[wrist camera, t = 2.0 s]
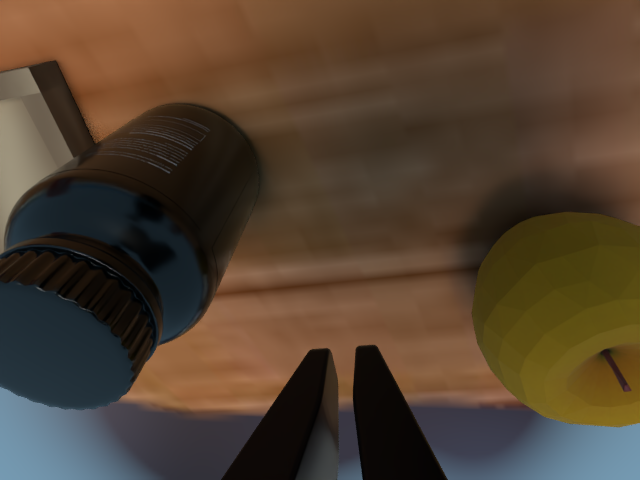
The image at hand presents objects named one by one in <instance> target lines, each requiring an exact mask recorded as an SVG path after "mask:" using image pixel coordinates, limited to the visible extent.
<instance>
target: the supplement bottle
mask: <svg viewBox="0 0 640 480" xmlns="http://www.w3.org/2000/svg"><path fill="white" fill-rule="evenodd" d="M258 191H259V172H258V167H257V163H256V160H255V157H254V155H253V153H252V150H251V148H250V147H249V145H248V143H247V142H246V141H245V139H244V138H243V136H242V135H241V134H240V133H239V132H238V131H237V130H236V129H235V128H234V127H233V126H232V125H231V124H230V123H228V122H227V121H226V120H224V119H223V118H221V117H220V116H218V115H216V114H214V113H212V112H210V111H208V110H205V109H203V108H200V107H196V106H191V105H184V104H170V105H163V106H160V107H156V108H154V109H151V110H149V111H147V112H145V113H143V114H141V115H140V116H138V117H136V118H135V119H133V120H131V121H130V122H128V123H127V124H125V125H124V126H122V127H121V128H119V129H118V130H116V131H115V132H113V133H112V134H110V135H109V136H107V137H106V138H104V139H102V140H101V141H99V142H98V143H96V144H95V145H93V146H92V147H90V148H89V149H87V150H86V151H84V152H83V153H81V154H80V155H78V156H77V157H75V158H74V159H72V160H70V161H69V162H67V163H66V164H64V165H63V166H61V167H60V168H58V169H57V170H55V171H54V172H52V173H51V174H49V175H48V176H46V177H45V178H43V179H42V180H40V181H39V182H38V183H36V184H35V185H34V186H32V187H31V188H30V189H29V190H27V191H26V192H25V193H24V194H23V195H22V196H21V197H20V198H19V200H18V201H17V202H16V204H15V205H14V207H13V209H12V210H11V212H10V215H9V217H8V220H7V223H6V227H5V233H4V252H3V253H2V254H0V387H2V388H5V389H8V390H10V391H11V392H13V393H14V394H16V395H18V396H21V397H25V398H27V399H29V400H31V401H33V402H37V403H42V404H44V405H47V406H49V407H59V408H62V409H76V410H84V409H96V408H98V407H102V406H108V405H109V404H110V403H111V402H116V401H118V400H119V399H120V398H121V397H122V396H123V395H125V394H127V392H128V391H129V390H130V388H131V387H132V385H133V383H134V382H135V380H136V379H137V377H138V375H139V373H140V372H141V370H142V368H143V366H144V364H145V362H147V361H148V360H149V359H150V357H151V356H152V355H153V353H154V351H155V350H156V348H157V346H159V345H162V344H165V343H168V342H170V341H172V340H174V339H176V338H178V337H180V336H182V335H183V334H185V333H186V332H188V331H189V330H190V329H192V328H193V327H194V326H195V325H196V324H197V323H198V322H199V321H200V320H201V318H202V317H203V316H204V314H205V313H206V311H207V309H208V307H209V306H210V304H211V302H212V300H213V298H214V296H215V293H216V291H217V289H218V287H219V284H220V282H221V280H222V278H223V275H224V273H225V271H226V269H227V267H228V264H229V262H230V260H231V258H232V255H233V253H234V251H235V249H236V246H237V244H238V242H239V240H240V237H241V235H242V233H243V231H244V228H245V226H246V224H247V222H248V219H249V217H250V215H251V213H252V210H253V207H254V205H255V203H256V199H257V196H258Z"/></svg>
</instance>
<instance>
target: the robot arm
mask: <svg viewBox="0 0 640 480" xmlns="http://www.w3.org/2000/svg"><path fill="white" fill-rule="evenodd" d="M353 406H354V414H355V422H356V430H357V438H358V446H359V454H360V461H361V469H362V477H363V480H448V479H447V478H446V476H445V474H444V472H443V470H442V468H441V466H440V464H439V462H438V461H437V459H436V457H435V455H434V453H433V451H432V449H431V447H430V445H429V444H428V442H427V440H426V438H425V436H424V434H423V432H422V430H421V428H420V427H419V425H418V423H417V421H416V419H415V417H414V415H413V413H412V411H411V409H410V408H409V406H408V404H407V402H406V400H405V398H404V396H403V394H402V392H401V391H400V389H399V387H398V385H397V383H396V381H395V379H394V377H393V375H392V374H391V372H390V370H389V368H388V366H387V364H386V362H385V360H384V358H383V356H382V355H381V353H380V351H379V349H378V347H377V346H376V345H364V346H358V347H357V348H356V352H355V368H354V384H353ZM338 413H339V411H338V379H337V373H336V369H335V365H334V361H333V356H332V353H331V351H330V349H328V348H323V349H312V350H310V351H309V352H308V353H307V355H306V356H305V358H304V359H303V361H302V362H301V364H300V365H299V366H298V368H297V369H296V371H295V372H294V374H293V375H292V377H291V378H290V380H289V381H288V383H287V384H286V385H285V387H284V388H283V390H282V391H281V393H280V394H279V396H278V397H277V399H276V400H275V402H274V403H273V404H272V406H271V407H270V409H269V410H268V412H267V413H266V415H265V416H264V418H263V419H262V421H261V422H260V424H259V425H258V426H257V428H256V429H255V431H254V432H253V434H252V435H251V437H250V438H249V440H248V441H247V443H246V444H245V445H244V447H243V448H242V450H241V451H240V453H239V454H238V456H237V457H236V459H235V460H234V462H233V463H232V465H231V466H230V468H229V469H228V470H227V472H226V473H225V475H224V476H223V478H222V479H221V480H337V476H338V464H339V414H338Z"/></svg>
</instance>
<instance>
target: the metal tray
mask: <svg viewBox="0 0 640 480" xmlns="http://www.w3.org/2000/svg"><path fill="white" fill-rule="evenodd" d="M93 145H95V144H94V142H93V140H92V138H91V136H90V133H89V131H88V129H87V127H86V125H85V123H84V121H83V118H82V116H81V114H80V112H79V110H78V108H77V106H76V103H75V101H74V99H73V97H72V95H71V93H70V91H69V89H68V86H67V84H66V82H65V80H64V78H63V76H62V74H61V71H60V69H59V67H58V65H57V63H56V61H50V62H45V63H40V64H36V65H31V66H26V67H21V68H17V69H12V70H7V71H2V72H0V254H2V253H3V252H4V233H5V227H6V223H7V220H8V217H9V215H10V212H11V210H12V209H13V207H14V205H15V204H16V202H17V201H18V200H19V198H20V197H21V196H22V195H23V194H24V193H25V192H26V191H27V190H29V189H30V188H31V187H32V186H34V185H35V184H36V183H38V182H39V181H40V180H42V179H43V178H45V177H46V176H48V175H49V174H51V173H52V172H54V171H55V170H57V169H58V168H60V167H61V166H63V165H64V164H66V163H67V162H69V161H70V160H72V159H74V158H75V157H77V156H78V155H80V154H81V153H83V152H84V151H86V150H87V149H89V148H90V147H92V146H93Z"/></svg>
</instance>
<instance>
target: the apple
mask: <svg viewBox="0 0 640 480" xmlns="http://www.w3.org/2000/svg"><path fill="white" fill-rule="evenodd" d="M472 318H473V324H474V330H475V334H476V339H477V343H478V345H479V347H480V349H481V351H482V353H483V355H484V357H485V359H486V361H487V363H488V365H489V367H490V369H491V370H492V372H493V373H494V374H495V375H496V376H497V378H498V379H499V380H500V381H501V383H502V384H503V385H504V386H505V387H506V389H507V390H508V391H509V392H511V393H512V394H513V395H514V396H515V397H516V398H517V399H518V400H519V401H520V402H522V403H523V404H525V405H527V406H528V407H530V408H531V409H533V410H534V411H536V412H538V413H539V414H541V415H542V416H544V417H547V418H551V419H555V420H558V421H562V422H565V423H569V424H582V425H595V426H596V425H597V426H610V427H622V426H627V425H632V424H637V423H640V226H637V225H634V224H631V223H628V222H625V221H622V220H619V219H616V218H613V217H609V216H606V215H602V214H595V213H579V212H562V213H555V214H549V215H542V216H536V217H532V218H530V219H527V220H525V221H522V222H520V223H518V224H517V225H515V226H514V227H512V228H511V229H509V230H508V231H506V232H505V233H504V234H503V235H502V236H501V237H500V238H499V240H498V241H497V242H496V243H495V244H494V245H493V247H492V248H491V250H490V251H489V253H488V254H487V256H486V257H485V259H484V260H483V262H482V264H481V266H480V268H479V271H478V276H477V282H476V288H475V294H474V301H473V308H472Z"/></svg>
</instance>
